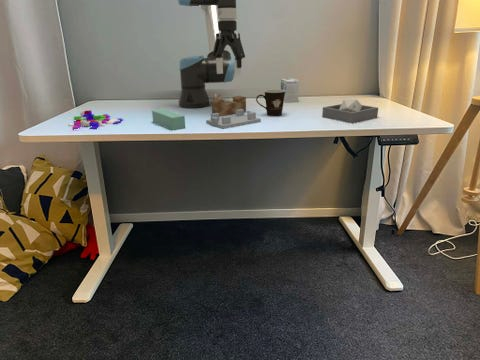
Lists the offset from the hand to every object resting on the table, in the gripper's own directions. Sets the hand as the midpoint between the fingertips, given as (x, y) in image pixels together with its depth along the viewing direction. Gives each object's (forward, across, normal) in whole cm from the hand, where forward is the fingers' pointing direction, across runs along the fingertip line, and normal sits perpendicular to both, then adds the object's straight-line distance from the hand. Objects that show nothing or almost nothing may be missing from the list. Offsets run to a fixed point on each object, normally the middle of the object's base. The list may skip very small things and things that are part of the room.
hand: (228, 75), depth 154 cm
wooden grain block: (+17, 0, 0) cm, 17 cm away
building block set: (+17, -22, -51) cm, 58 cm away
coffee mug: (+17, +13, +12) cm, 25 cm away
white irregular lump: (+17, +38, +33) cm, 53 cm away
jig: (+16, +15, -8) cm, 24 cm away
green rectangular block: (+17, +2, -30) cm, 35 cm away
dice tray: (+16, +38, +33) cm, 53 cm away
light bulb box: (+17, -6, +42) cm, 46 cm away
